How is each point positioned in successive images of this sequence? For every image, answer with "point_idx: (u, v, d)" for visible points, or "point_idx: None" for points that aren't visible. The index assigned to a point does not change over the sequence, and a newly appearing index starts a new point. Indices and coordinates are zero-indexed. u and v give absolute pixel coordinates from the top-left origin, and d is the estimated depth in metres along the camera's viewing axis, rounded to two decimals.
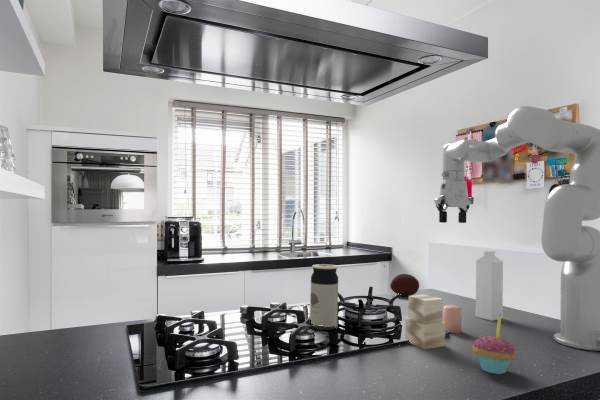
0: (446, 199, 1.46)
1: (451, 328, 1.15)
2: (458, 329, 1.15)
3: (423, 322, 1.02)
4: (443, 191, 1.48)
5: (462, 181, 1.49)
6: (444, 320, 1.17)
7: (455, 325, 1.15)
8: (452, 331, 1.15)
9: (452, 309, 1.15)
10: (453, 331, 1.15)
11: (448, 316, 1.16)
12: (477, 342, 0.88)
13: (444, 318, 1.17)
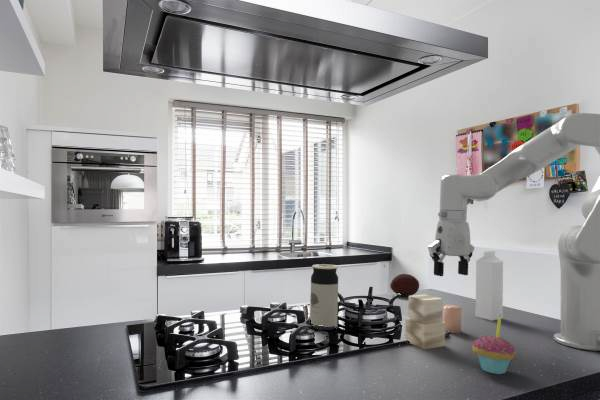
0: (443, 247, 1.15)
1: (451, 328, 1.15)
2: (458, 329, 1.15)
3: (423, 322, 1.02)
4: (439, 235, 1.16)
5: (464, 223, 1.17)
6: (444, 320, 1.17)
7: (455, 325, 1.15)
8: (452, 331, 1.15)
9: (452, 309, 1.15)
10: (453, 331, 1.15)
11: (448, 316, 1.16)
12: (477, 342, 0.88)
13: (444, 318, 1.17)
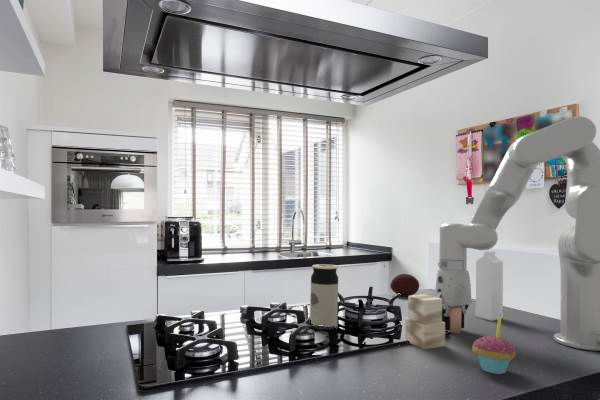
0: (444, 297, 1.14)
1: (451, 328, 1.15)
2: (458, 329, 1.15)
3: (423, 322, 1.02)
4: (439, 285, 1.16)
5: (464, 272, 1.17)
6: None
7: (455, 325, 1.15)
8: (452, 331, 1.15)
9: (452, 309, 1.15)
10: (453, 331, 1.15)
11: None
12: (477, 342, 0.88)
13: None
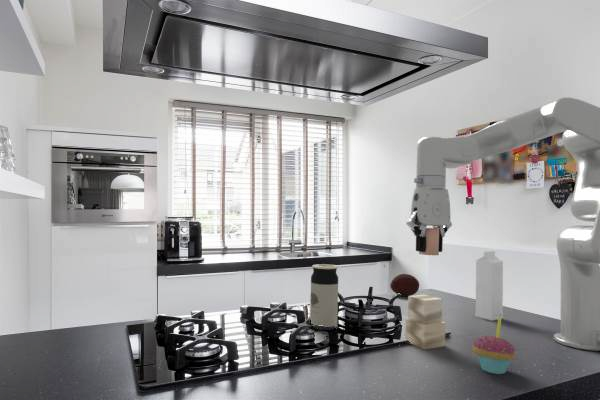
0: (419, 215, 1.04)
1: (427, 249, 1.06)
2: (435, 251, 1.06)
3: (423, 322, 1.02)
4: (415, 203, 1.06)
5: (443, 190, 1.07)
6: None
7: (431, 246, 1.05)
8: (428, 253, 1.06)
9: (428, 229, 1.06)
10: (429, 253, 1.05)
11: None
12: (477, 342, 0.88)
13: None
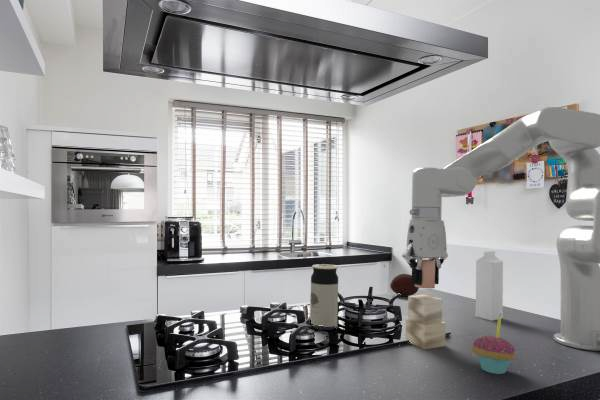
0: (415, 248, 1.02)
1: (423, 283, 1.04)
2: (431, 284, 1.04)
3: (423, 322, 1.02)
4: (411, 235, 1.04)
5: (438, 221, 1.05)
6: None
7: (427, 279, 1.03)
8: (424, 286, 1.03)
9: (424, 262, 1.04)
10: (425, 286, 1.03)
11: (420, 269, 1.04)
12: (477, 342, 0.88)
13: None
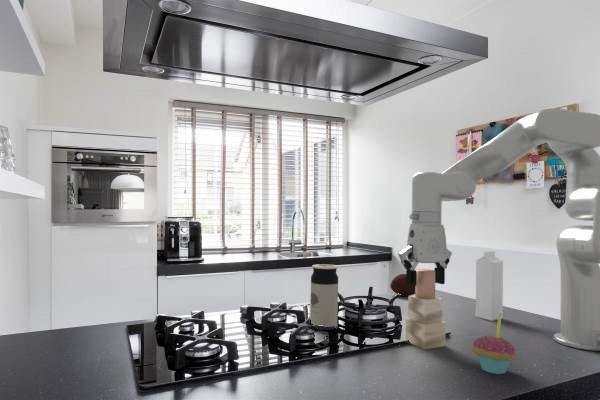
0: (415, 253, 1.02)
1: (424, 293, 1.04)
2: (432, 294, 1.04)
3: (423, 322, 1.02)
4: (411, 240, 1.04)
5: (439, 226, 1.05)
6: (416, 285, 1.06)
7: (428, 290, 1.03)
8: (425, 297, 1.04)
9: (425, 272, 1.04)
10: (425, 297, 1.03)
11: (421, 280, 1.04)
12: (477, 342, 0.88)
13: (416, 283, 1.06)
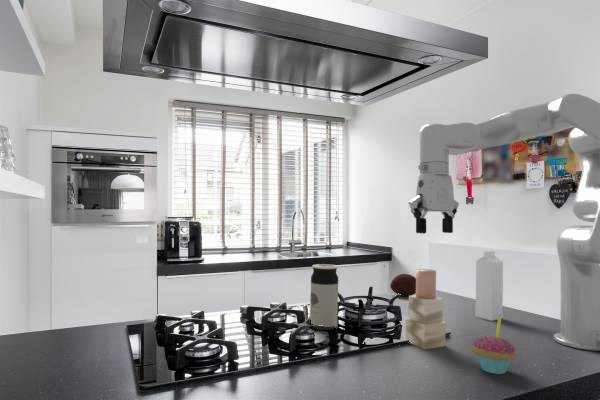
0: (425, 201, 1.06)
1: (424, 293, 1.03)
2: (432, 294, 1.03)
3: (424, 322, 1.02)
4: (420, 190, 1.08)
5: (446, 176, 1.09)
6: (417, 285, 1.05)
7: (428, 290, 1.03)
8: (425, 297, 1.03)
9: (425, 272, 1.04)
10: (426, 297, 1.03)
11: (421, 280, 1.04)
12: (477, 342, 0.88)
13: (416, 283, 1.05)
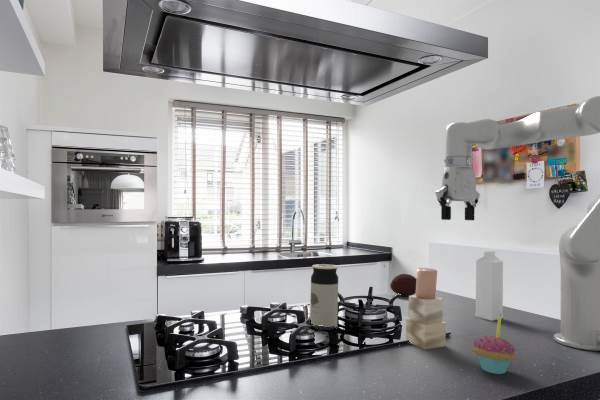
0: (450, 191, 1.19)
1: (422, 293, 1.03)
2: (431, 295, 1.03)
3: (423, 322, 1.02)
4: (446, 181, 1.20)
5: (469, 169, 1.21)
6: (416, 284, 1.05)
7: (427, 290, 1.03)
8: (423, 296, 1.03)
9: (424, 272, 1.03)
10: (424, 297, 1.03)
11: (420, 280, 1.04)
12: (477, 342, 0.88)
13: (416, 282, 1.05)
